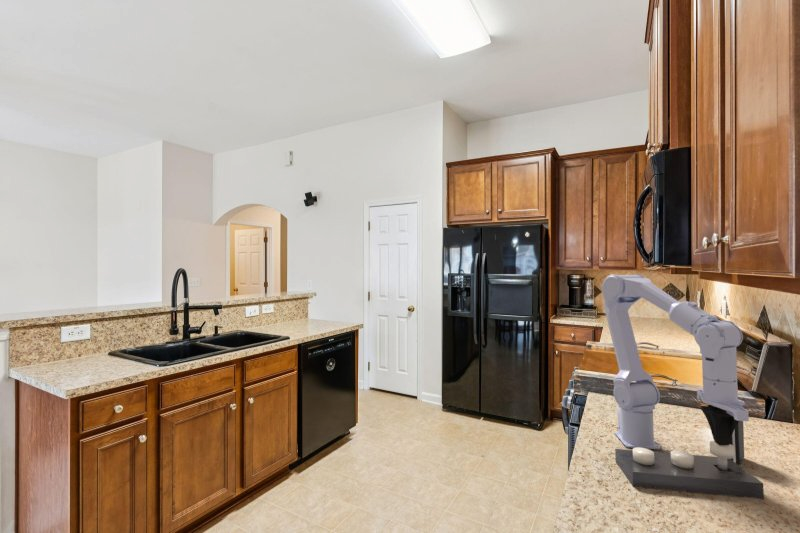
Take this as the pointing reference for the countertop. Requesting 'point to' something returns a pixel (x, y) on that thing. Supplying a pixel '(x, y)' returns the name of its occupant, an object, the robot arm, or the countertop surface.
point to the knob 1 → (643, 456)
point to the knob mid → (682, 459)
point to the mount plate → (690, 475)
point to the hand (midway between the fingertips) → (721, 443)
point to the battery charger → (738, 443)
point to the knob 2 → (722, 453)
